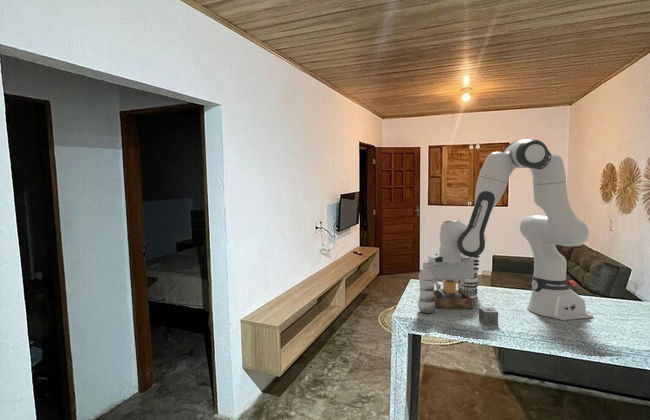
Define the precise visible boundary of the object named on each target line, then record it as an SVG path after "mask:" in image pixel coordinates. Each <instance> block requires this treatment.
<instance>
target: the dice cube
mask: <svg viewBox="0 0 650 420" xmlns="http://www.w3.org/2000/svg"><path fill="white" fill-rule="evenodd" d="M478 321H479V322H480V323H481V324H482V325H484V326H499V311H497V310H496V308H494V307H491V306H488V307H487V306H485V307H484V306H480V307H479V308H478Z"/></svg>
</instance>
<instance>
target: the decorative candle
mask: <svg viewBox="0 0 650 420" xmlns="http://www.w3.org/2000/svg"><path fill="white" fill-rule="evenodd" d="M461 257H468V256H465V255H463V254H462V253H461ZM480 257H481V256H480V255H478V256H476V257H471V258H472V259H473V260H474V266H473V268H474V277H473V278H472V279H465V283H464V284H463V285H462V289H458V288H457V290H461V291H462V292H464V293H465V294H466V295H467V296H469V297H470V298H471V299H476V298H477V297H478V294H479V293H478V289H479V288H478V287H479V286H478V283H479V281H478V272H479V270H480V269H479V267H478V266H479V265H480V260H479V258H480ZM457 282H458V283H457V285H458V284H460V282H461V280H460V279H457Z"/></svg>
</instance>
